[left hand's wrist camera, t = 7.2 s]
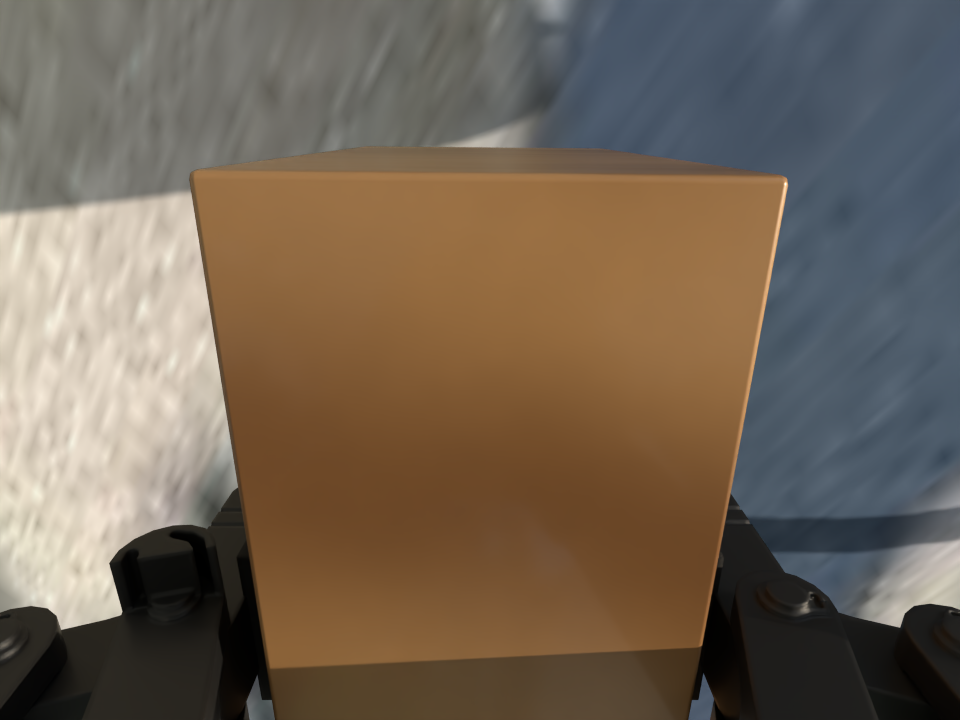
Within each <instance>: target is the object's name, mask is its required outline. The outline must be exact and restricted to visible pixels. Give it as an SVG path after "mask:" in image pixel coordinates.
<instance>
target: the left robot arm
mask: <svg viewBox="0 0 960 720" xmlns="http://www.w3.org/2000/svg"><path fill="white" fill-rule="evenodd" d="M109 564H110V568H111V571H112V575H113V578H114V582H115V586H116V589H117V593H118V597H119V600H120V604H121V607H122V611H123V612H122V615H120V616H117V617H114V618H110V619H107V620H103V621H99V622H94V623H90V624H86V625H81V626H77V627H73V628H68V629H64V630H61V628H60V625H59V622H58V619H57V616H56V615H55V614H53V613H52V612H51V611H50V610H49V609H47V608H40V607H34V606H29V607H22V608H15V609H10V610H7V611H4V612H1V613H0V720H249V713H248V708H247V703H246V701H247V699H248V696H249V694H250V691H251V689H252V686H253V684H254V681H255V679H256V676H257V675H258V680H259V686H260V691H261V697H262V700H272V697H271V691H270V684H269V678H268V672H267V665H266V659H265V653H264V647H263V640H262V634H261V628H260V621H259V615H258V609H257V602H256V596H255V590H254V584H253V577H252V571H251V565H250V558H249V552H248V546H247V539H246V533H245V527H244V521H243V514H242V508H241V502H240V495H239V489H238V488H237V489H235V490H234V491H233V492H232V493H231V495H230V496H229V498H228V499H227V501H226V502H225V504H224V505H223V507H222V508H221V512H218V514H217V515H216V517H215V518H214V520H213V521H212V525H211V526H209V527H208V529H206V528H202V527H198V526H194V525H176V526H170V527H166V528H161V529H157V530H153V531H151V532H149V533H147V534H145V535H142V536H140V537H138V538H136V539H134V540H133V541H131V542H130V543H128V544H127V545H126V546H124V547H123V548H122V549H120V550H119V551H118V552H117V554H116V555H115V556H114V558H113V559H112V560H111V562H110V563H109ZM703 673H704V675H705V677H706V680H707V682H708V685H709V687H710V690H711V692H712V695H713V697H714V703H713V708H712V713H711V718H710V720H960V610H959V609H956V608H953V607H949V606H942V605H935V604H925V605H918V606H914V607H912V608H911V609H910V610H909V611H907V612H906V613H905V615H904V618H903V621H902V624H901V627H900V628H898V627H894V626H890V625H885V624H881V623H877V622H872V621H868V620H863V619H859V618H855V617H851V616H848V615H845V614H841V613H838V611H837V609H836V608H835V606H834V605H833V603H832V602H831V600H830V599H829V597H828V596H827V595H825V594H824V593H823V592H822V591H820V590H819V589H818V588H817V587H816V586H814V585H813V584H811V583H809V582H807V581H805V580H803V579H801V578H799V577H797V576H795V575H791V574H788V573H785V572H784V571H783V569H782V568H781V566H780V565H779V563H778V562H777V560H776V559H775V557H774V556H773V555H772V553H771V552H770V550H769V549H768V547H767V546H766V544H765V543H764V541H763V540H762V538H761V537H760V536H759V534H758V533H757V531H756V530H755V528H754V527H753V525H752V524H749V520H748V518H747V517H746V515H745V514H744V512H743V511H742V510H740V508H739V505H738V504H737V502H736V501H735V499H734V498H733V496H732V495H731V493H730V498H729V503H728V509H727V514H726V520H725V525H724V530H723V536H722V541H721V546H720V552H719V557H718V562H717V568H716V573H715V579H714V584H713V589H712V595H711V600H710V605H709V611H708V616H707V621H706V627H705V632H704V638H703V643H702V648H701V654H700V659H699V664H698V670H697V675H696V680H695V686H694V691H693V697H692V700H698V699H699V693H700V688H701V682H702V677H703Z"/></svg>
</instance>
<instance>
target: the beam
mask: <svg viewBox="0 0 960 720" xmlns="http://www.w3.org/2000/svg"><path fill="white" fill-rule="evenodd" d="M189 180H190V187H191V193H192V199H193V205H194V212H195V218H196V224H197V231H198V237H199V243H200V250H201V256H202V262H203V268H204V275H205V281H206V287H207V294H208V300H209V306H210V313H211V319H212V325H213V332H214V338H215V344H216V350H217V357H218V363H219V369H220V376H221V382H222V388H223V395H224V401H225V407H226V413H227V420H228V426H229V432H230V439H231V445H232V451H233V458H234V464H235V470H236V476H237V483H238V489H239V495H240V502H241V508H242V514H243V521H244V527H245V533H246V539H247V546H248V552H249V558H250V565H251V571H252V577H253V584H254V590H255V596H256V602H257V609H258V615H259V621H260V628H261V634H262V640H263V647H264V653H265V659H266V665H267V672H268V678H269V684H270V691H271V697H272V703H273V710H274V716H275V720H688V718H689V713H690V707H691V702H692V697H693V691H694V686H695V680H696V675H697V670H698V664H699V659H700V654H701V648H702V643H703V638H704V632H705V627H706V621H707V616H708V611H709V605H710V600H711V595H712V589H713V584H714V579H715V573H716V568H717V562H718V557H719V552H720V546H721V541H722V536H723V530H724V525H725V520H726V514H727V509H728V503H729V498H730V493H731V487H732V482H733V477H734V471H735V466H736V461H737V455H738V450H739V444H740V439H741V434H742V428H743V423H744V418H745V412H746V407H747V402H748V396H749V391H750V385H751V380H752V375H753V369H754V364H755V359H756V353H757V348H758V342H759V337H760V332H761V326H762V321H763V316H764V310H765V305H766V300H767V294H768V289H769V283H770V278H771V273H772V267H773V262H774V257H775V251H776V246H777V241H778V235H779V230H780V224H781V219H782V214H783V208H784V203H785V198H786V192H787V187H788V182H787V179H786V178H785V177H783V176H781V175H777V174H770V173H763V172H757V171H750V170H743V169H736V168H729V167H723V166H716V165H709V164H702V163H695V162H689V161H682V160H675V159H668V158H661V157H655V156H648V155H641V154H634V153H627V152H621V151H614V150H607V149H588V148H483V147H378V146H366V147H359V148H351V149H344V150H337V151H329V152H322V153H315V154H307V155H300V156H292V157H285V158H278V159H270V160H263V161H256V162H248V163H241V164H234V165H226V166H219V167H212V168H204V169H197V170H195V171H193V172H191V173H190V179H189Z"/></svg>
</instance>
